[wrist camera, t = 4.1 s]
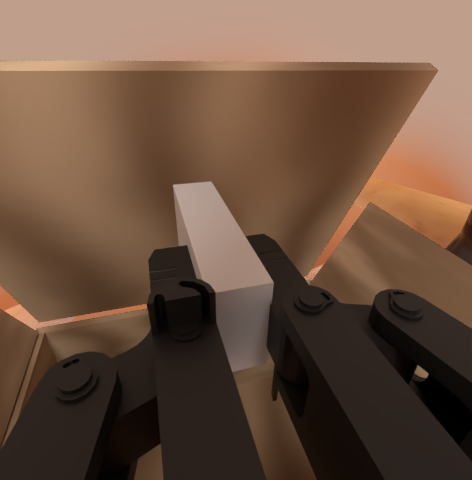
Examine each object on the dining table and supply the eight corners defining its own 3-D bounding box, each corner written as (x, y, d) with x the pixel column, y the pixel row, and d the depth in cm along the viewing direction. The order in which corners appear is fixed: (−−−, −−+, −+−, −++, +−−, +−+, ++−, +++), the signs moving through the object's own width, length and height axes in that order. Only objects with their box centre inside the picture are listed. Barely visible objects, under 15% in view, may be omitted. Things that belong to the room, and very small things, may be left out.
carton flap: (307, 275, 27) (304, 268, 27) (438, 70, 13) (428, 61, 13) (39, 322, 22) (40, 312, 22) (-228, 71, 8) (-213, 56, 8)
